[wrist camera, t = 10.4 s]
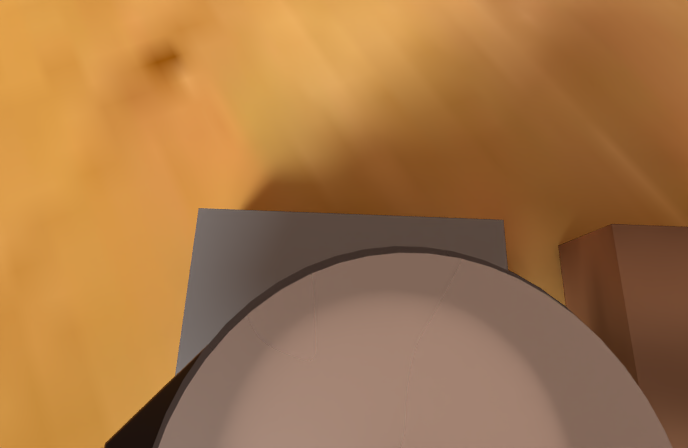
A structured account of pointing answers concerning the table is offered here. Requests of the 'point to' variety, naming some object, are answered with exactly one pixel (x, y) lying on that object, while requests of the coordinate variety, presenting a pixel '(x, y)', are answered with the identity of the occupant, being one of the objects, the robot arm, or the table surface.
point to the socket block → (637, 308)
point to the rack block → (300, 255)
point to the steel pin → (408, 365)
